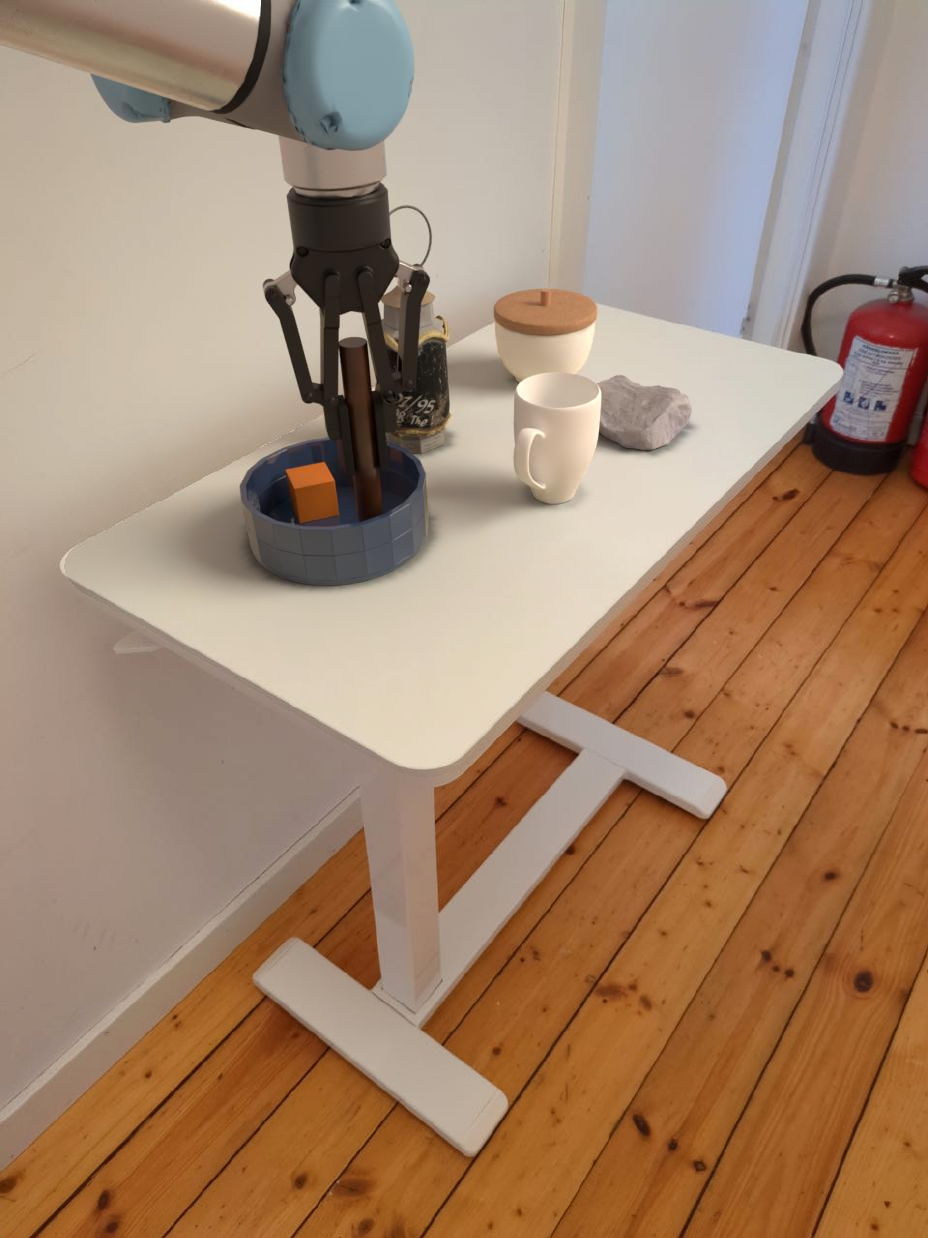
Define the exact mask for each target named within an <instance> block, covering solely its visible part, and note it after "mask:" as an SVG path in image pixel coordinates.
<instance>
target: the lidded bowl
mask: <svg viewBox="0 0 928 1238" xmlns="http://www.w3.org/2000/svg"><path fill="white" fill-rule="evenodd" d="M597 317H598V305H597V304H596V302H595V301H594V300H593V299H592V298H591V297H589V296H587V295H584V294H582V293H580V292H576V291H572V290H571V291H570V290H566V289H560V288H559V289H557V288H546V287H545V288H532V289H525V290H524V289H523V290H519V291H515V292H512V293H509V294H506V295H503V296H502V297H501V298H499V299H498V300H497V301H496V302H495V303H494V305H493V319H494V335H495V345H496V348H497V352H498V355H499V358H500V360H501V362H502V364H503V366H504V367H505V368H506V370H507V371H508V372H509V373H510V374H511V375H512V376H514V379H515V380H516V382H517V383H518V384H519V383H520V382H521V381H523V380H524V379H526V378H528V377H531V376H534V375H538V374H543V373H554V372H560V373H571V374H576V375H577V373H578V372H579V371H580V370H581V369H582V368H583V366H584V365H585V364H586V362H587V360H588V358H589V356H590V354H591V350H592V347H593V343H594V337H595V330H596V320H597Z"/></svg>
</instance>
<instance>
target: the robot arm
mask: <svg viewBox="0 0 928 1238" xmlns="http://www.w3.org/2000/svg"><path fill="white" fill-rule="evenodd" d="M412 40H413V39H412V37H411V32H410V29H409V27H408V25H407V22H406V19H405V18H404V16H403V13H402V12H401V10H400V9H399V7H398V6H397V4H396V3H395V1H394V0H0V46H3V47H6V48H9V49H12V50H14V51H18V52H21V53H25V54H27V55H31V56H34V57H37V58H40V59H42V60H43V59H44V60H46V61H50V62H54V63H57V64H59V65H62V66H65V67H69V68H72V69H75V70H78V71H81V72H83V73H88V74H89V75H90V77H91V79H92V82H93V85H94V86H95V88H96V90H97V92H98V94H99V95H100V97H101V98H102V100H103V101H104V103H105V105H106V106H107V107H108V109H110V110H111V112H112V113H113V114H114V115H115V116H117V117H118V118H119V119H121V120H123V121H125V122H128V123H131V124H140V123H141V124H142V123H152V122H153V123H154V122H162V123H163V124H168V123H171V122H172V120H177V119H181V118H186V117H187V118H188V117H199V118H204V119H208V120H211V121H216V122H219V123H224V124H228V125H232V126H235V127H241V128H243V129H244V128H245V129H249V130H258V131H261V132H265V133H269V134H272V135H275V136H278V142H279V143H278V145H279V151H280V158H281V166H282V174H283V180H284V181H285V182H286V183H287V184H288V185H289V186H290V189H289V190H288V193H287V194H286V203H287V211H288V218H289V224H290V225H289V226H290V233H291V240H292V247H293V250H292V255H291V258H290V260H289V265H288V267H289V269H288V270H287V271H286V272H284V273H283V274H280V276H278V277H277V278H275V279H274V278H267V279H265V280H264V281H263V283H262V290H263V295H264V299H265V301H266V303H267V304H268V306H269V307H270V308H271V310H272V311H273V312H274V314H275V315H276V317H277V318H278V320H279V323H280V327H281V331H282V333H283V337H284V338H283V339H284V341H285V345H286V348H287V352H288V355H289V359H290V362H291V366H292V370H293V374H294V377H295V379H296V385H297V388H298V391H299V395H300V399H301V400H302V402H303V403H304V404H307V405H310V404H317V405H319V406H321V407H322V410H323V411H322V412H323V419H324V427H325V432H326V435H327V437H329V439H330V440H339V439H340V446H341V454H342V462H343V466H344V469H345V473H346V476H347V477H348V476H355V470H354V461H353V452H352V443H351V434H350V425H349V416H348V408H347V405H346V402H345V400H344V394H339V374H340V373H339V369H340V367H339V364H340V363H339V362H340V355H339V341H340V327H341V324H340V323H341V316H342V315H345V314H348V313H350V312H354V313H361V315H362V316H361V317H362V321H363V326H364V331H365V335H366V336H365V337H366V340H367V343H368V350H369V353H370V358H371V363H372V367H373V372H374V377H375V383H376V382H377V385H378V390H375V389H374V390H372V397H373V399H372V400H373V410H374V421H375V432H376V443H377V454H378V464H379V469H380V471H381V472H383V471H389V466H388V454H387V442H386V441H387V433H389V432H395V431H396V428H397V417H396V404H395V402H396V400H397V395H398V394H399V393H401V392H403V391H405V390H406V391H411V390H413V389H414V388H415V385H416V374H417V359H418V344H419V329H420V314H421V302H422V300H423V298H424V295H425V293H426V291H428V288H429V286H430V284H431V277H430V275H429V274H428V272H427V270H426V269H425V268H424V267H423V266H422V265H420V264H421V263H414V264H410V263H409V262H405V261H403V260H401V259H400V256H399V254H398V253H397V252H396V250H395V248H394V245H393V242H392V230H391V229H392V228H391V220H390V219H391V215H390V214H389V212H390V200H389V190H388V188H387V187H386V186H385V184H383V182H382V181H383V180H384V179H385V178H386V177H387V174H388V171H387V158H386V147H385V140H386V139H388V138H389V137H390V136H391V135H392V134H393V132H394V131H395V130H396V128H397V127H398V126H399V124H400V123H401V121H402V119H403V118H404V115H405V114H406V111H407V109H408V106H409V103H410V97H411V94H412V92H413V83H414V79H415V53H414V46H413V41H412ZM395 275H397V276H398V278H397V285H398V286H399V288H400V290H401V291H402V292H401V300H400V319H399V338H398V357H397V372H396V373H394V374H392V373H391V368H390V363H389V358H388V353H387V348H386V343H385V338H384V333H383V328H382V323H381V322H382V321H381V319H382V317H381V316H382V315H381V311H380V307H379V306H380V305H379V303H380V302H381V298H382V297H383V295H385V294H386V293H387V292H386V291H387V290H388V288H389V287H390V285H391V284H392V282H393V280H394V278H395V277H394V276H395ZM297 286H299V288H300V289H301V290H302V291H303V292H304V293H305V294H306V295H307V297H309V299H310V300H311V301H312V302H313V303H314V304H315V305H316V306H317V308H319V309H318V310H319V311H318V312H319V322H320V323H319V341H320V342H319V355H320V356H319V358H320V359H319V363H320V365H319V366H320V367H319V368H320V369H319V371H320V373H319V374H320V377H319V379H320V381H319V383H318V382H313V379H312V376H311V373H310V369H309V365H308V362H307V357H306V354H305V350H304V347H303V342H302V340H301V336H300V332H299V328H298V325H297V319H296V317H295V313H294V310H293V307H292V306H293V305H294V304H295V303H296V301H297V296H296V293H295V289H296V287H297Z"/></svg>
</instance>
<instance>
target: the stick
mask: <svg viewBox="0 0 928 1238" xmlns="http://www.w3.org/2000/svg"><path fill="white" fill-rule="evenodd" d="M339 362H340V363H339V364H340V373H341V378H342V379H341V381H342V389H343V390H342V391H343V396H344V400H345V402H346V405H347V408H348V416H349V425H350V434H351V443H352V452H353V461H354V470H355V476H353V480H354V488H355V497H356V506H357V515H358V523H359V522H362V521H365V520H368V519H371V518H374V517H377V516H380V515H383V507H382V496H381V485H380V474H379V464H378V454H377V443H376V432H375V421H374V410H373V400H372V399H373V397H372V391H373V388H372V377H371V376H372V375H371V367H370V365H371V364H370V356H369V345H368V340H367V338H364V337H360V336H349V337H345V338H342V339H339Z"/></svg>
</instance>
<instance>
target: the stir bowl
mask: <svg viewBox="0 0 928 1238" xmlns="http://www.w3.org/2000/svg"><path fill="white" fill-rule="evenodd" d="M386 442H387V454H388V466H389V471H383V472H381V471H380V469H379V474H380V485H381V496H382V507H383V515H380V516H377V517H374V518H371V519H368V520H365V521H362V522H359V523H358V515H357V506H356V497H355V488H354V480H353V476H348V477H347V476H346V473H345V469H344V466H343V462H342V454H341V446H340V439H339V440H330V439H329V437H328V436H327V437H320V438H312V439H306V440H303V441H300V442H296V443H292V444H290V445H287V446H284V447H282V448H278V449H276V450H274V451H273V452H271V453H269V454H267V455H265V456H264V457H262V458H260V459H259V460H258V461H257V462H255V464H253V465H252V466H250V467H249V469H247V470H246V473H245V474H244V476H243V478H242V480H241V482H240V484H239V495H240V502H241V507H242V512H243V517H244V521H245V526H246V532H247V536H248V540H249V547H250V549H251V551H252V554H253V557H254V558H255V559H256V561H257V562H258V563H259V564H260V565H261V566H262V567H263V568H264V569H265V570H267V571H268V572H269V573H271V574H273V575H275V576H277V577H279V578H282V579H284V580H287V581H290V582H293V583H299V584H303V585H312V586H343V585H351V584H357V583H361V582H366V581H370V580H373V579H377V578H380V577H383V576H385V575H387V574H389V573H391V572H393V571H395V570H398V569H399V568H401V567H402V566H404V565H406V564H407V563H408V562H410V561H411V560H412V559H414V557H415V556H417V554H418V553H420V551H421V549H422V548H423V547H424V545H425V544H426V541H427V538H428V534H429V523H430V519H429V517H430V516H429V501H428V499H429V498H428V484H427V473H426V470H425V468H424V466H423V464H422V461H421V459H420V458H419V457H417V456H416V455H415V454H414V453H411V452H410V451H408V450H407V449H406V448H403V447H401V446H398V445H396V444H393V443H391V442H388V441H387V440H386ZM321 462H325V464H326V466H327V467H328V469H329V471H330V473H331V475H332V477H333V478H334V480H335V487H336V495H337V502H338V510H339V515H337V516H333V517H328V518H324V519H319V520H315V521H310V522H306V523H301V524H300V523H299V521H298V518H297V516H296V514H295V512H294V510H293V507H292V505H291V501H290V495H289V489H288V483H287V478H286V472H285V470H287V469H292V468H297V467H302V466H306V465H311V464H316V463H321Z"/></svg>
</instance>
